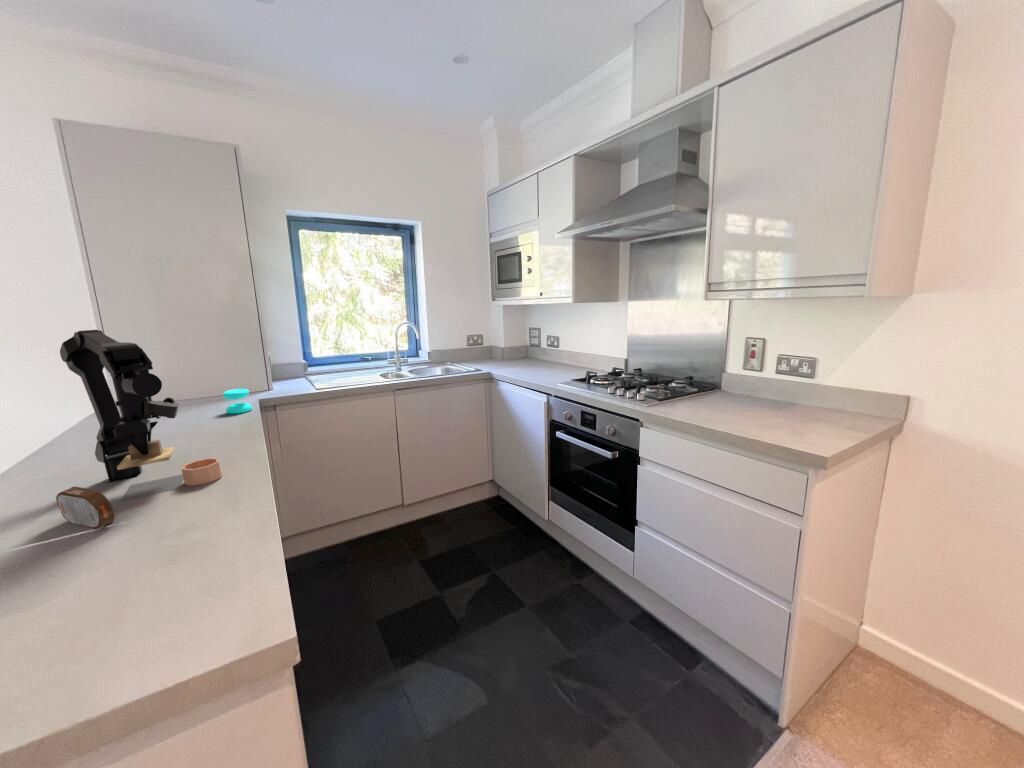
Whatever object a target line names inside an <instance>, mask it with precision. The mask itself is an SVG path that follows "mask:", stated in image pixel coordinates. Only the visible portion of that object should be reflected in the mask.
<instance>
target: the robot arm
mask: <svg viewBox="0 0 1024 768" xmlns="http://www.w3.org/2000/svg"><path fill="white" fill-rule="evenodd" d="M59 355H60V359H61V360H62V362H64V363H65V364H66V366H67V367H68V370H69V371H71V372H72V373H74V374H75V375H76V376H78V377H80V378H81V381H82V383H83V386H84V388H85V391H86V393H87V397H88V398H89V401H90V404H91V406H92V409H93V411H94V414H95V417H96V419H97V421H98V423H99V429H98V432H97V434H96V437H95V438H96V441H97V442H96V444H95V450H94V451H95V452H94V456H95V458H96V461H97V462H100V463H103V464H104V466H105V470H106V474H107V477H108V479H107V481H106V483H107V484H108V483H113V482H119V481H124V480H129V479H133V478H138V477H139V475H140V474H141V473H142V471H143V465H141V466H136V467H131V468H126V469H121V470H117V466H118V465H119V464H120V463H121V462H122V460H123V459H124V458H125V457H126V456H127V455H130V454H129V450H128V447H129V446H130V445H133V446H134V447H135V448H136V449H137V450H138V451H139V452H140V453H141V454H142V455H147V454H148V442H149V441H152V430H153V429H154V428H155V426H156V425H157V424H158V422H159V421H158V419H161V418H163V417H164V418H167V419H175V418H176V416H177V414H178V411H179V406H180V404H179V403H178V402H176V401H175V399H174V398H173V397H169V396H168V397H167V396H166V397H165V399H164V400H153V398H152V397H153V396H156V395H157V394H159V393H160V392H161V390H162V388H163V383H162V380H161V379H160V377H158V376H157V375H155V374H153V373H150V370H153V369H154V367H153V362H152V360H151V359H150V358H149V356H148V355H147V354H146V352H145V351H144V350H143V348H142V347H140V346H139V345H138V344H137V343H135V342H123V341H121V342H120V341H117V340H116V339H113V338H111V337H110V336H108V335H106V334H104V333H103V331H102V330H99V329H89V330H88V329H86V330H78V331H75V332H74V334H73V336H72V337H70V338H69V339H67V340H65V341H63V342H62V344H61V346H60V349H59ZM104 368H105V370H107V372H108V373H109V375H110V376H111V379H112V384H113V387H114V391H115V394H116V399H117V400H116V401H115V399H114V397H113V394H112V391H111V389H110V385H109V384H108V381H107V379H106V376H105V373H104V372H103V370H104ZM118 408H119V409H118ZM119 411H120V412H119ZM154 418H156V419H157V420H156V421H151V419H154Z"/></svg>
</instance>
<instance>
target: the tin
mask: <svg viewBox="0 0 1024 768" xmlns="http://www.w3.org/2000/svg"><path fill="white" fill-rule="evenodd" d="M55 498H56V499H55V500H56V502H57V505H58V508H59V511H60V513H61V515H62V517H63V518H64V519H65V520H66V521H67V522H69V523H70V524H72V523H73V525H77V526H82V527H88V528H92V529H94V528H95V529H94V530H98V528H99V529H101V528H103V527H105V526H107V525H109V524H112V523H113V522H114V521H115V516H116V515H115V510H114V507H113V506H112V503H111V502H110V500H109V499H108V498H107V496H106V495H105V494H103V493H102V491H101V492H100V490H97V489H93V488H85V487H80V486H79V487H78V486H71V487H69V488H67V489H64V490H62V491H60V492H59V493H57V495H56V496H55Z"/></svg>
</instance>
